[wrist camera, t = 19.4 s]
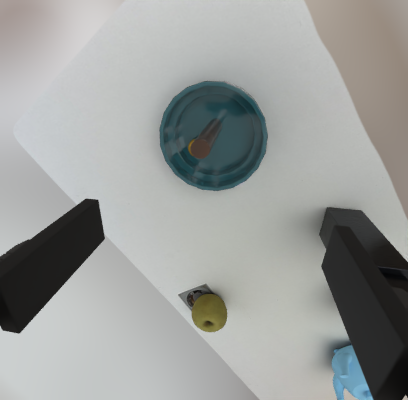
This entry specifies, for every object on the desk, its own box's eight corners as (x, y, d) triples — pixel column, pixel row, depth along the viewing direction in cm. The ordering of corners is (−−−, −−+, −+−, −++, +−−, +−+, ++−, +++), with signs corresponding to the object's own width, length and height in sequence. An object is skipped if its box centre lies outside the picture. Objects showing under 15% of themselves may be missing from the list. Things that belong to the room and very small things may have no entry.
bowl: (271, 83, 38) (275, 83, 33) (257, 181, 45) (259, 194, 40) (168, 79, 40) (157, 79, 35) (171, 174, 47) (161, 186, 42)
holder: (361, 210, 45) (451, 311, 25) (351, 238, 48) (426, 349, 28) (326, 207, 46) (387, 302, 26) (319, 234, 48) (369, 340, 29)
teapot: (376, 372, 62) (398, 421, 53) (319, 366, 64) (332, 413, 55) (388, 337, 57) (416, 386, 48) (326, 332, 59) (341, 378, 50)
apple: (228, 311, 61) (226, 339, 54) (195, 308, 62) (190, 334, 56) (228, 288, 58) (226, 314, 51) (194, 285, 59) (188, 310, 52)
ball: (208, 137, 42) (210, 154, 43) (194, 138, 44) (196, 155, 45) (197, 139, 40) (200, 158, 41) (183, 140, 41) (185, 158, 42)
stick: (224, 122, 41) (213, 144, 27) (218, 134, 42) (205, 162, 28) (212, 116, 41) (194, 135, 27) (207, 129, 42) (187, 154, 28)
